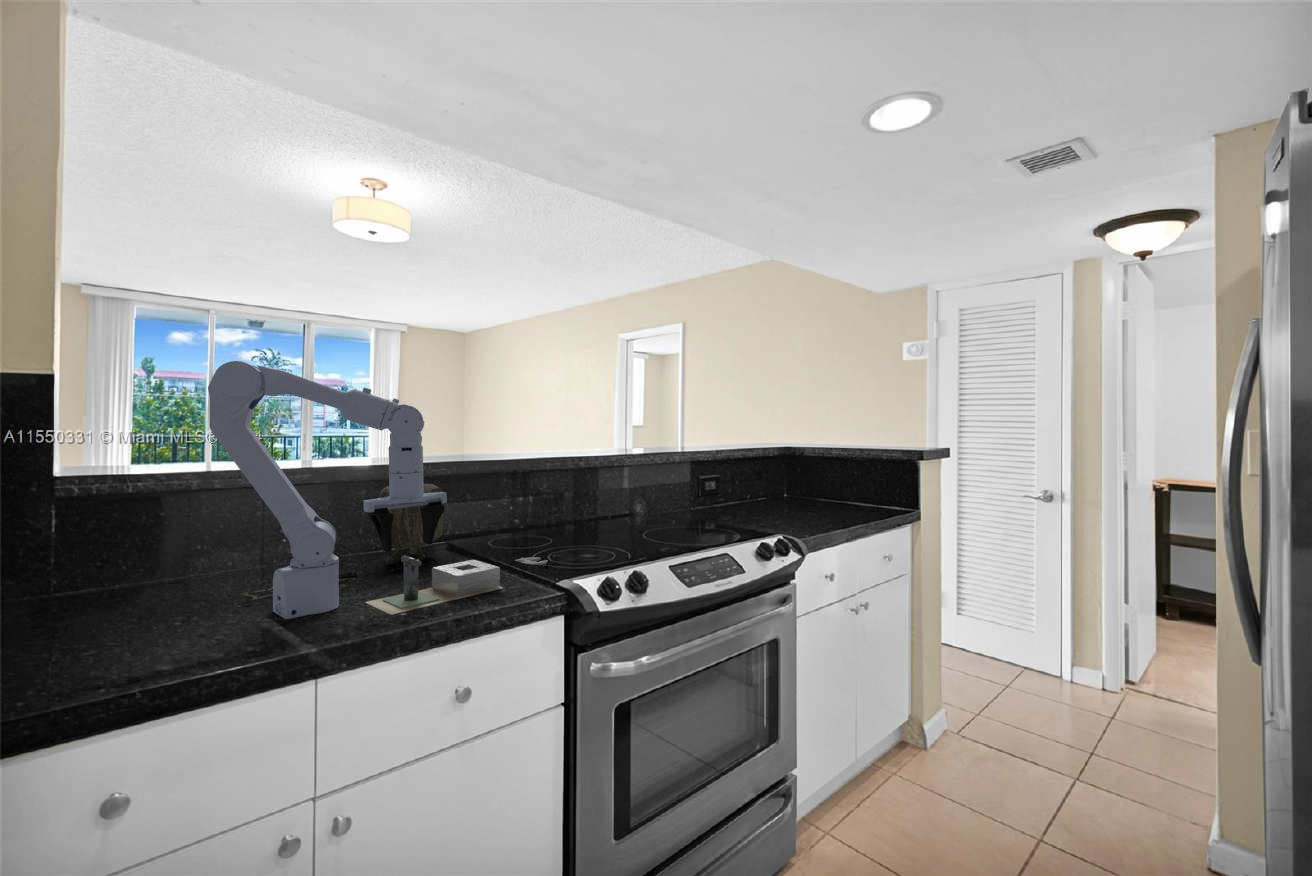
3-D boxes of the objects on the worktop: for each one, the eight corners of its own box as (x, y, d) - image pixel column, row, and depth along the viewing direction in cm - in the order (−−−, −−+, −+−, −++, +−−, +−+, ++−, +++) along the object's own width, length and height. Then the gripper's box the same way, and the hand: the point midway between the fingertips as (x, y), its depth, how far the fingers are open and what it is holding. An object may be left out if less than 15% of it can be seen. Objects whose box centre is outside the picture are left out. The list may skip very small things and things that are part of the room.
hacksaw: (356, 575, 133) (356, 568, 133) (376, 584, 126) (376, 577, 126) (221, 598, 115) (221, 590, 115) (235, 610, 108) (235, 602, 108)
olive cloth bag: (410, 552, 154) (410, 451, 153) (445, 553, 153) (445, 452, 152) (378, 566, 139) (377, 455, 138) (416, 567, 138) (416, 456, 138)
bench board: (391, 621, 102) (391, 614, 102) (364, 608, 109) (364, 602, 109) (503, 594, 119) (503, 587, 119) (474, 584, 125) (474, 578, 125)
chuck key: (413, 604, 107) (413, 561, 107) (397, 597, 111) (397, 556, 111) (426, 601, 109) (426, 559, 109) (410, 594, 113) (410, 554, 112)
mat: (401, 609, 105) (401, 607, 105) (382, 600, 110) (382, 599, 110) (439, 600, 110) (439, 598, 110) (419, 592, 115) (419, 591, 115)
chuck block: (457, 597, 112) (457, 576, 112) (432, 588, 118) (432, 567, 118) (499, 587, 119) (499, 567, 119) (473, 579, 125) (473, 559, 125)
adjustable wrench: (429, 577, 133) (429, 569, 133) (432, 570, 139) (432, 562, 139) (547, 569, 140) (547, 561, 139) (544, 563, 146) (544, 555, 146)
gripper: (375, 476, 103) (377, 557, 104) (454, 470, 114) (456, 543, 114) (357, 474, 108) (359, 551, 108) (435, 468, 118) (437, 538, 119)
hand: (407, 547), depth 112 cm, fingers open, 7 cm apart
